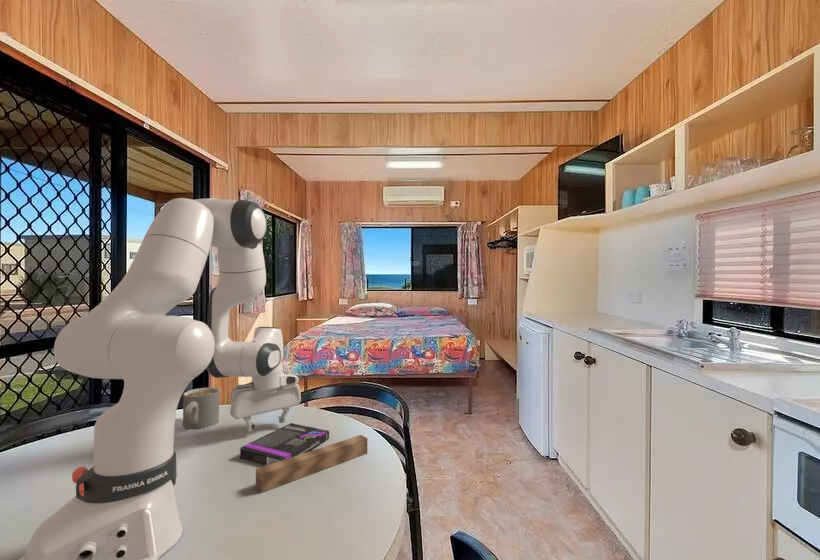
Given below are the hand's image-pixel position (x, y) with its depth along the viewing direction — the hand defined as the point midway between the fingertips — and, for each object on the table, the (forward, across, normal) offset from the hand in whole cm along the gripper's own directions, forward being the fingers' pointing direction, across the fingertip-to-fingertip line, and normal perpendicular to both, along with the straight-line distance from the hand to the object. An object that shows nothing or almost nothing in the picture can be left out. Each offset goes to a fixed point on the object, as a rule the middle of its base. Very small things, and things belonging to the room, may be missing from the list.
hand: (266, 426), depth 112 cm
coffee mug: (+2, -14, +20) cm, 24 cm away
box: (+2, 0, -15) cm, 15 cm away
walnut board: (+2, 0, -30) cm, 30 cm away
